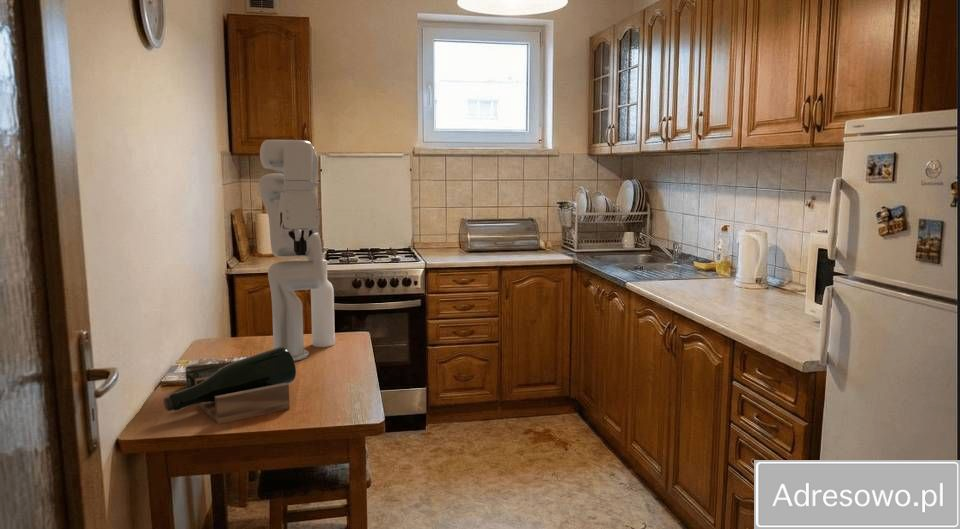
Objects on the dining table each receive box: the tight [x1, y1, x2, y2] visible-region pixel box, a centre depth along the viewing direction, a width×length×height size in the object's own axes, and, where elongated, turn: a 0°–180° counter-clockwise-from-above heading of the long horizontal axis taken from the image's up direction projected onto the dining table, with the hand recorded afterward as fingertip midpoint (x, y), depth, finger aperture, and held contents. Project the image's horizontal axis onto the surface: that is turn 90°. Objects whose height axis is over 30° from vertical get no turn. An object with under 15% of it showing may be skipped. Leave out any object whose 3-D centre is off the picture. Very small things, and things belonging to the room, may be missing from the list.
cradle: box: [195, 376, 290, 425], centre depth 179 cm, size 19×18×6 cm
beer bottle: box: [163, 347, 297, 412], centre depth 178 cm, size 10×10×33 cm
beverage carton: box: [185, 360, 237, 389], centre depth 196 cm, size 8×19×7 cm, turn 113°
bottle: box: [310, 259, 336, 348], centre depth 239 cm, size 8×8×30 cm
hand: (300, 254), depth 186 cm, fingers closed
